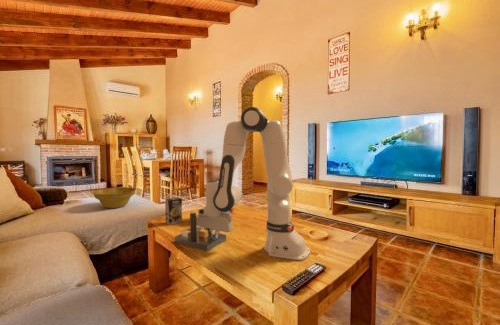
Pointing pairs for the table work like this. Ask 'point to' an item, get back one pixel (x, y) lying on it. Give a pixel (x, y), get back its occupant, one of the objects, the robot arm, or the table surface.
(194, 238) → the cord post left
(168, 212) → the coffee box
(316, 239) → the table surface
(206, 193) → the robot arm
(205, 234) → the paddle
